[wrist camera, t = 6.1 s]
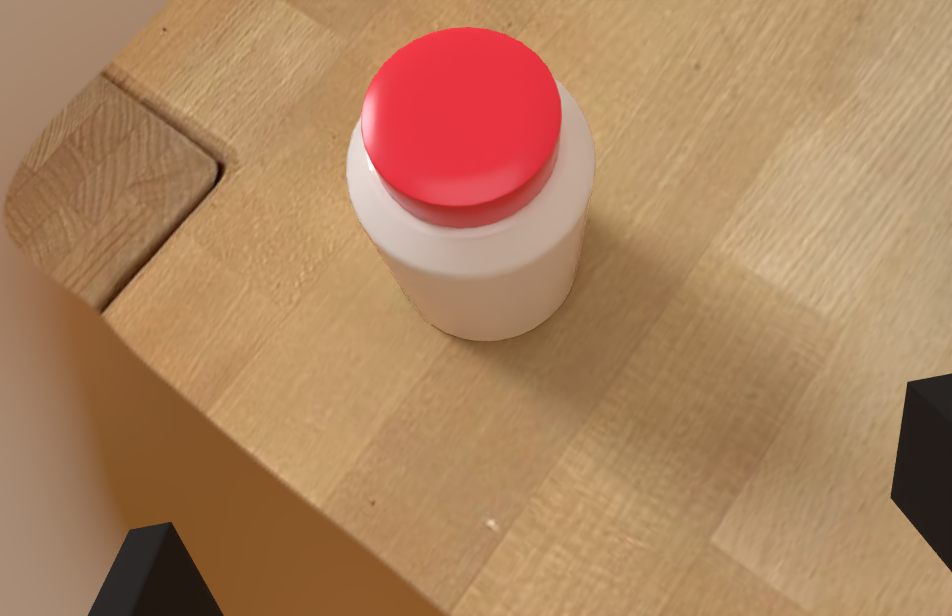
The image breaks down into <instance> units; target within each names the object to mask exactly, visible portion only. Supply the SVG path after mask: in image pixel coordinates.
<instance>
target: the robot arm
mask: <svg viewBox="0 0 952 616" xmlns="http://www.w3.org/2000/svg"><path fill="white" fill-rule="evenodd" d="M891 499H892V500H893V501H894V503H895V504H896V505H897V506H898V507H899V509H900V510H901V511H902V512H903V513H904V515H905V516H906V517H907V518H908V519H909V521H910V522H911V523H912V524H913V526H914V527H915V528H916V529H917V530H918V532H919V533H920V534H921V535H922V536H923V538H924V539H925V540H926V541H927V543H928V544H929V545H930V546H931V547H932V549H933V550H934V551H935V552H936V553H937V555H938V556H939V557H940V558H941V559H942V561H943V562H944V563H945V564H946V566H947V567H948V568H949V569H950V570H951V572H952V374H947V375H942V376H936V377H931V378H926V379H921V380H915V381H910V382H907V389H906V396H905V403H904V409H903V416H902V423H901V430H900V437H899V443H898V450H897V457H896V464H895V471H894V477H893V484H892V491H891ZM88 616H223V614H222V612H221V610H220V608H219V606H218V605H217V603H216V601H215V599H214V598H213V596H212V594H211V592H210V590H209V589H208V587H207V585H206V583H205V581H204V580H203V578H202V576H201V574H200V573H199V571H198V569H197V567H196V565H195V564H194V562H193V560H192V558H191V557H190V555H189V553H188V551H187V549H186V548H185V546H184V544H183V542H182V540H181V539H180V537H179V535H178V533H177V532H176V530H175V528H174V526H173V524H172V523H171V522H168V523H163V524H158V525H153V526H147V527H142V528H137V529H131V530H129V532H128V534H127V536H126V538H125V541H124V542H123V544H122V546H121V549H120V551H119V553H118V555H117V557H116V559H115V561H114V563H113V565H112V567H111V569H110V571H109V573H108V575H107V577H106V579H105V582H104V583H103V586H102V587H101V590H100V592H99V594H98V596H97V598H96V600H95V602H94V604H93V606H92V608H91V610H90V612H89V614H88Z"/></svg>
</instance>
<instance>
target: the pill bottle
mask: <svg viewBox="0 0 952 616" xmlns="http://www.w3.org/2000/svg"><path fill="white" fill-rule="evenodd" d="M595 169H596V159H595V145H594V140H593V137H592V133H591V130H590V126H589V123H588V120H587V118H586V116H585V114H584V113H583V111H582V109H581V107H580V105H579V104H578V102H577V100H576V99H575V98H574V96H573V95H572V94H571V93H570V92H569V91H568V89H567V88H566V87H565V86H564V85H563V84H562V83H561V82H560V81H559V80H557V79H556V78H555V77H554V76H552V74H551V72H550V71H549V69H548V67H547V66H546V65H545V63H544V62H543V61H542V60H541V59H540V58H539V56H538V55H537V54H536V53H535V52H533V51H532V50H531V49H530V48H528V47H527V46H526V45H524V44H523V43H522V42H520V41H518V40H516V39H514V38H512V37H510V36H508V35H506V34H503V33H499V32H495V31H492V30H488V29H481V28H471V27H465V28H451V29H446V30H442V31H437V32H433V33H430V34H428V35H425V36H423V37H421V38H418V39H416V40H414V41H412V42H411V43H409V44H407V45H406V46H404V47H403V48H401V49H400V50H398V51H397V52H396V53H395V54H394V55H393V56H392V57H391V58H389V59H388V60H387V61H386V62H385V63H384V64H383V66H382V67H381V68H380V70H379V71H378V73H377V74H376V75H375V77H374V78H373V80H372V82H371V84H370V86H369V88H368V91H367V93H366V96H365V100H364V104H363V108H362V114H361V116H360V118H359V120H358V122H357V124H356V126H355V128H354V130H353V133H352V136H351V140H350V144H349V148H348V152H347V170H346V180H347V185H348V191H349V196H350V201H351V203H352V206H353V208H354V210H355V213H356V215H357V218H358V220H359V222H360V224H361V226H362V227H363V229H364V230H365V232H366V234H367V235H368V237H369V238H370V240H371V241H372V243H373V245H374V246H375V248H376V249H377V251H378V252H379V254H380V256H381V257H382V259H383V260H384V262H385V264H386V265H387V267H388V268H389V270H390V271H391V273H392V275H393V276H394V278H395V279H396V281H397V283H398V284H399V286H400V287H401V289H402V290H403V292H404V294H405V295H406V297H407V298H408V300H409V301H410V302H411V304H412V305H413V307H414V308H415V310H416V311H417V312H418V313H419V314H420V315H421V316H422V317H424V318H425V319H426V320H427V321H428V322H429V323H430V324H432V325H434V326H435V327H437V328H438V329H440V330H442V331H443V332H445V333H448V334H451V335H453V336H456V337H459V338H462V339H468V340H474V341H499V340H504V339H508V338H512V337H516V336H519V335H521V334H523V333H525V332H528V331H530V330H532V329H534V328H535V327H537V326H538V325H540V324H541V323H543V322H544V321H545V320H547V319H548V318H549V317H550V316H551V315H552V314H553V313H554V312H555V311H556V310H557V309H558V308H559V307H560V306H561V304H562V303H563V301H564V300H565V298H566V296H567V295H568V293H569V292H570V290H571V287H572V285H573V282H574V279H575V277H576V274H577V270H578V264H579V259H580V254H581V248H582V243H583V238H584V232H585V227H586V222H587V216H588V211H589V205H590V200H591V195H592V189H593V182H594V176H595Z"/></svg>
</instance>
